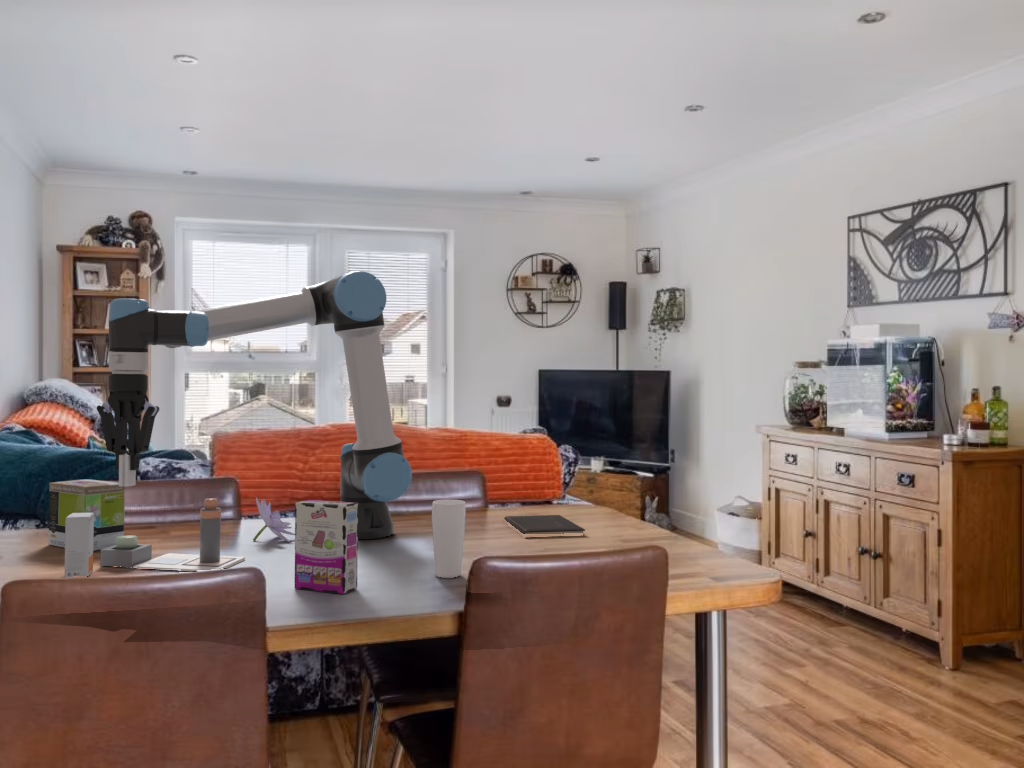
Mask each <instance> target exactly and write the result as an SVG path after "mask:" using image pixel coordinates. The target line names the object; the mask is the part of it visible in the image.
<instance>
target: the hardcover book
mask: <svg viewBox="0 0 1024 768" xmlns="http://www.w3.org/2000/svg"><path fill="white" fill-rule="evenodd" d="M504 519H505V520H506V521H507V522H509V523H510V524H511V525H512V526H514V527H515V528H516V529H518V530H519V531H520V532H521V533H523V534H561V533H562V534H564V533H583V534H584V532H585V531H586V529H585V528H583V527H581V526H579V525H578V524H576V523H574V522H572V521H570V520H569V519H567V518H565V517H564V516H562V515H560V514H548V515H547V514H546V515H543V514H542V515H508V516H505V517H504V518H503V520H504Z"/></svg>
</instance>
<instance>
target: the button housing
mask: <svg viewBox="0 0 1024 768" xmlns="http://www.w3.org/2000/svg"><path fill="white" fill-rule="evenodd" d="M152 546H153V545H152V544H145V543H143V544H141V543H137V547H134V548H128V549H119V548H116V545H114V546H111V547H108V548H105V549H102V550H100V567H102V568H104V567H103V566H117V567H120V566H121V567H133V566H135V565H137V564H140V563H143V562H145V561H148V560H151V559H153V558H152V557H153V556H152V554H153V553H152V548H153V547H152Z"/></svg>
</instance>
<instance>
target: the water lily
mask: <svg viewBox="0 0 1024 768" xmlns="http://www.w3.org/2000/svg"><path fill="white" fill-rule="evenodd" d="M260 500H261V502H260ZM260 500H259V499H258V497H257V496H255V502H256V507H257V509H258V513H259V515H260V517H261V519H262V520H263V522H264V524H265V525H264V526H263V527H262V528H261V529H260V530H259V531H258V532H257V533H256V534H255V536H254V538H253V539H252V540H253V541H254V542H256V541H257V540H258V538H259V536H260V535H261V534H262V533H263V531H265V530H266V529H267V528H268V529H269V530H270V531H271V532H272V533H273V534H274V535H275V536H277V537H278V538H279V539H281V540H283V541H284V542H288V543H291V541H290V540H289V539H288V538H287V537H285V536H284V534H286V535H290V536H295V532H294V533H293V532H291V531H288V530H289V529H293V527H291V525H292V523H291V522H287V521H282V520H281V519H282V517H281V513H280V511H279V510H275V511H273V512H272V511H271V509H272V503H271V502H272V501H269V502H268V504H267V502H266V500H265V498H263V500H262V499H260Z"/></svg>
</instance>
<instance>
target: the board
mask: <svg viewBox="0 0 1024 768" xmlns="http://www.w3.org/2000/svg"><path fill="white" fill-rule="evenodd" d="M245 560H246V556H232V555H230V556H229V555H220V561H219V562H215V563H201V562H200V554H191V553H189V554H188V553H172V552H171V553H170V552H169V553H165V554H162V555H160V556H157V557H154V558H152V559H151V560H148V561H145V562H143V563H140V564H137V565H135V566H133V567H137V568H154V569H181V571H197V570H211V569H221V568H226V569H229V568H230V567H232V566H235V565H237V564H240V563H241V562H243V561H245Z"/></svg>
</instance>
